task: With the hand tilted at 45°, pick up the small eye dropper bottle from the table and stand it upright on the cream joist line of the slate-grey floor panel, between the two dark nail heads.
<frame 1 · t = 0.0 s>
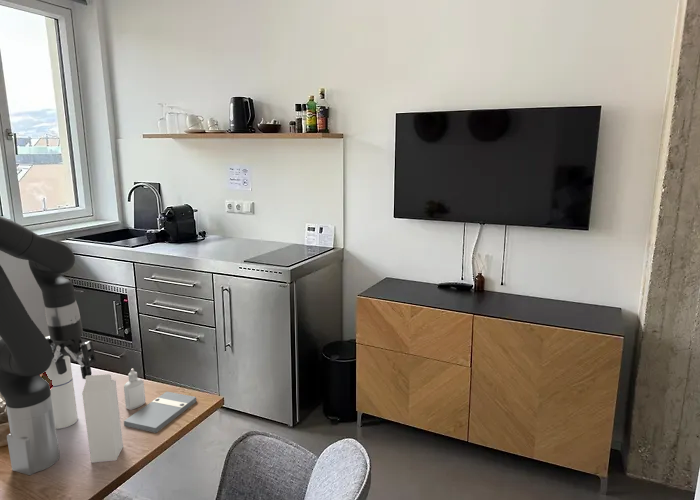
hand: (74, 375, 132), 17 cm above the table, tool pointing down, fingers open, 8 cm apart
eye dropper bottle: (136, 406, 150), on the table
cylindrical container: (63, 422, 141), on the table, touching hand
floor panel: (162, 413, 145), on the table
milk: (107, 455, 126), on the table
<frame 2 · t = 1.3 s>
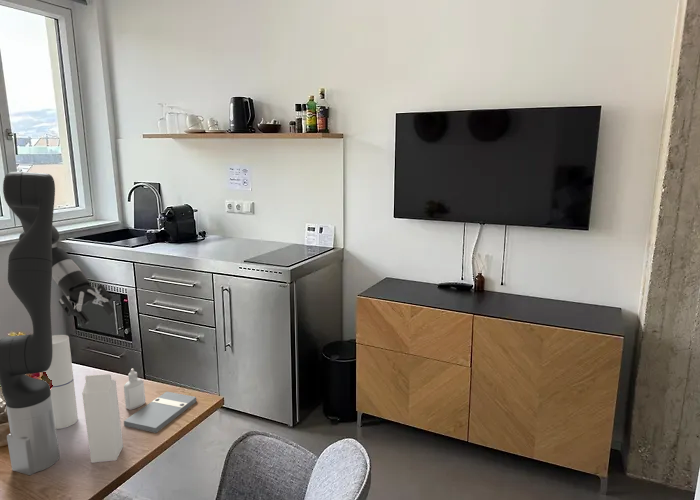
hand: (100, 318, 149), 26 cm above the table, tool tilted 45°, fingers open, 8 cm apart
cylindrical container: (63, 422, 141), on the table
everything else where it was.
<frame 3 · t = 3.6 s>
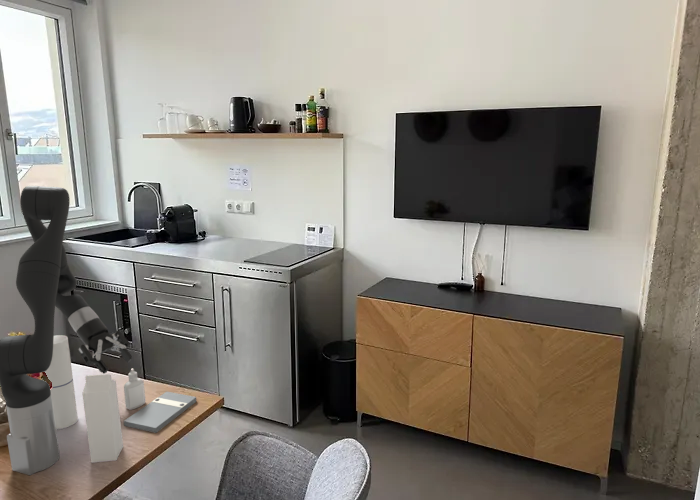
hand: (118, 366, 149), 12 cm above the table, tool tilted 45°, fingers open, 8 cm apart
nothing on the table moved.
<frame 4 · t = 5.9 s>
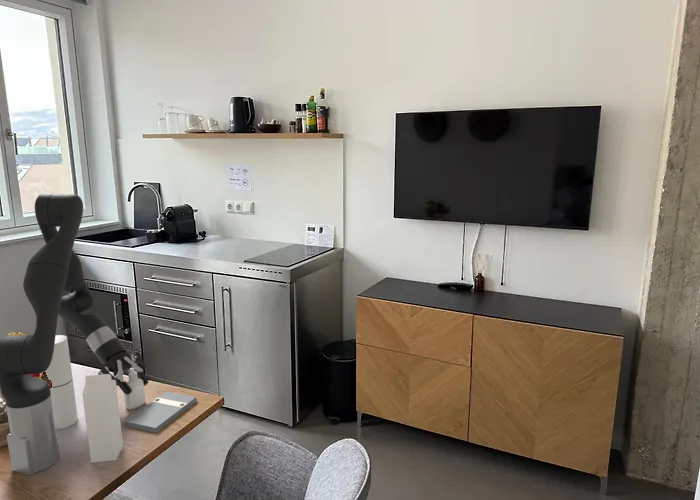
hand: (138, 388, 148), 6 cm above the table, tool tilted 45°, fingers closed on eye dropper bottle, 5 cm apart
eye dropper bottle: (135, 406, 150), on the table, touching gripper
everything else where it was.
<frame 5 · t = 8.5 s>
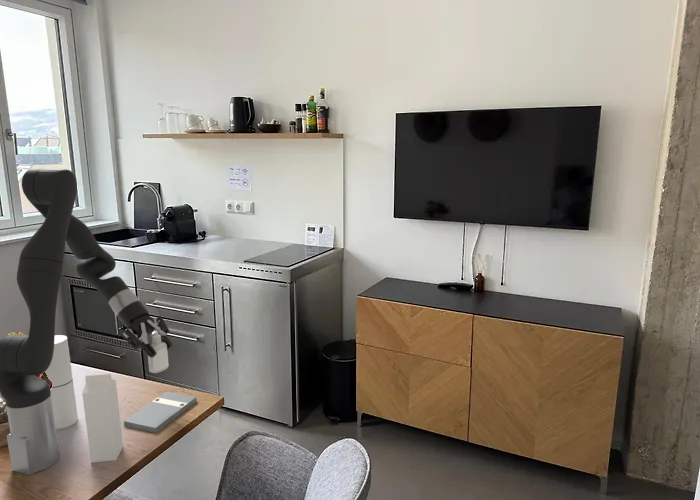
hand: (162, 351, 145), 18 cm above the table, tool tilted 45°, fingers closed on eye dropper bottle, 5 cm apart
eye dropper bottle: (159, 370, 147), point 12 cm above the table, touching gripper
everything else where it was.
when the fingers open (9 cm above the table, at t = 11.5 s): eye dropper bottle stays where it is, resting on floor panel.
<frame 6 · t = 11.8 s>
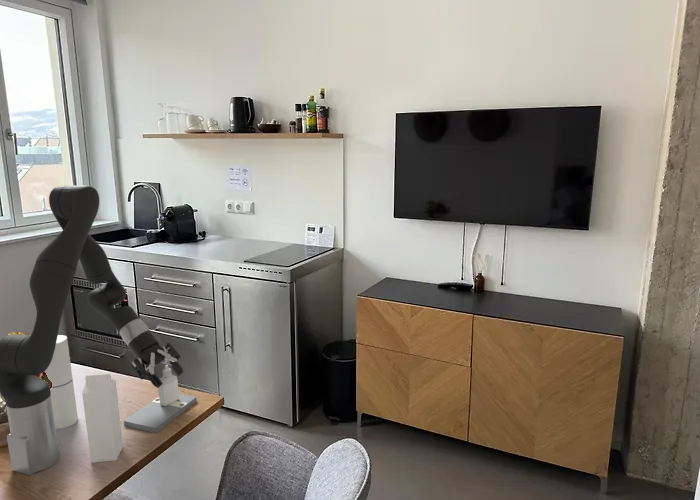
hand: (170, 379, 146), 9 cm above the table, tool tilted 45°, fingers open, 8 cm apart
eye dropper bottle: (169, 402, 148), point 1 cm above the table, touching floor panel
everything else where it was.
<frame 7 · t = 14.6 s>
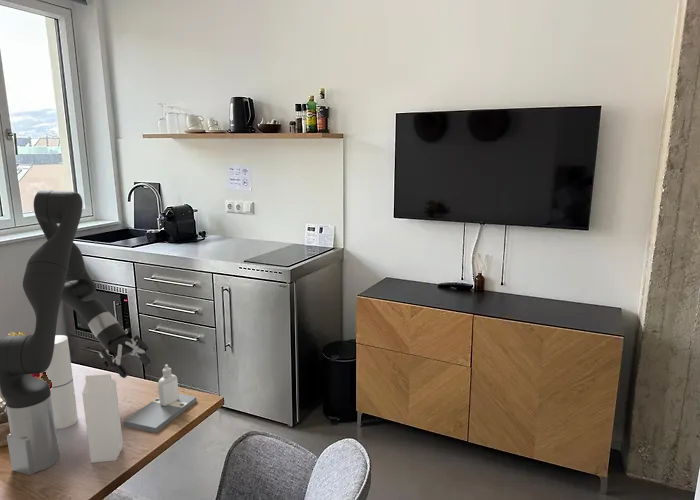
hand: (137, 370, 151), 10 cm above the table, tool tilted 45°, fingers open, 8 cm apart
nothing on the table moved.
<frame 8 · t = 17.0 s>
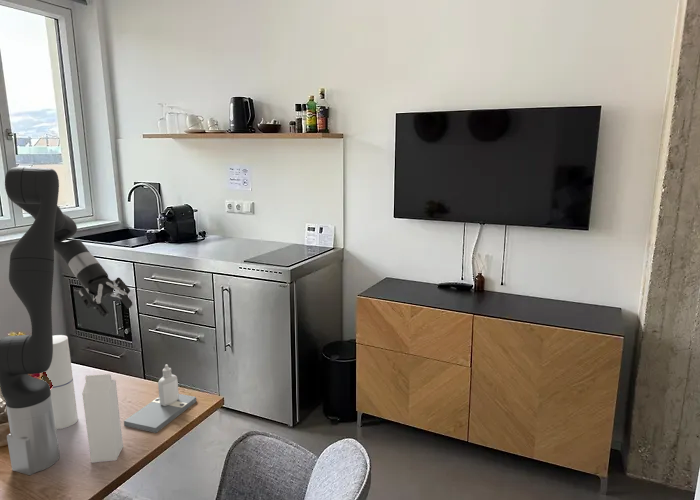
hand: (118, 310, 148), 29 cm above the table, tool tilted 45°, fingers open, 8 cm apart
nothing on the table moved.
at the end: eye dropper bottle 0.3 cm from the target spot, point 1.4 cm above the table; eye dropper bottle tilted 0°; the gripper is holding nothing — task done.
